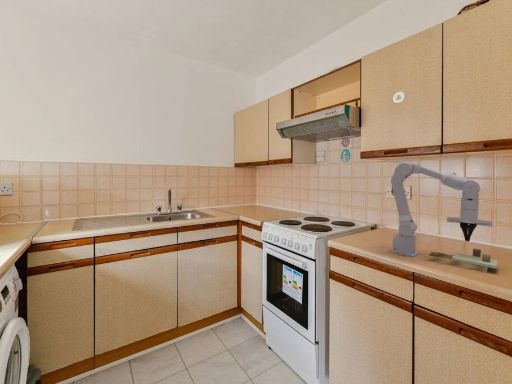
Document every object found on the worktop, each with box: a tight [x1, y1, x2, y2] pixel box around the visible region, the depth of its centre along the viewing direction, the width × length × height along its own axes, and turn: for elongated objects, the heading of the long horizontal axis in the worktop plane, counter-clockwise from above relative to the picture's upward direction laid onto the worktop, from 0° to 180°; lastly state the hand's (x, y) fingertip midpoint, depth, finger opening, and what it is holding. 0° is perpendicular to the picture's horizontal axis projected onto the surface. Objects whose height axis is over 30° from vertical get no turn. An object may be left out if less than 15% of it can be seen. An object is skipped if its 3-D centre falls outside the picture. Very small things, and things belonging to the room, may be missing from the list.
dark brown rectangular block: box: [472, 247, 482, 258], centre depth 108 cm, size 2×2×6 cm
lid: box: [452, 252, 499, 270], centre depth 102 cm, size 13×9×4 cm
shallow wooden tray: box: [425, 250, 489, 273], centre depth 106 cm, size 20×10×2 cm, turn 44°
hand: (467, 240), depth 106 cm, fingers closed
